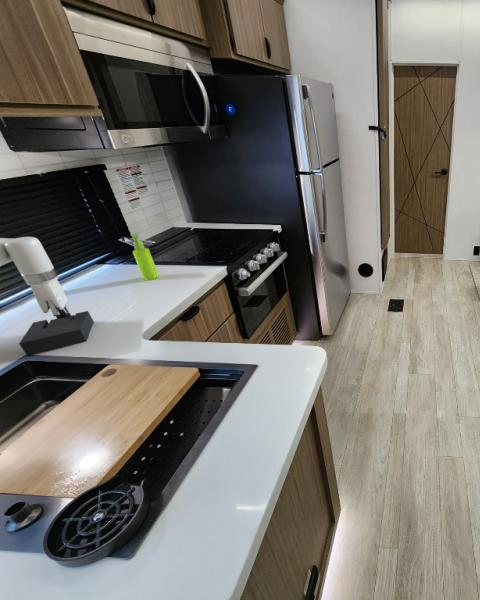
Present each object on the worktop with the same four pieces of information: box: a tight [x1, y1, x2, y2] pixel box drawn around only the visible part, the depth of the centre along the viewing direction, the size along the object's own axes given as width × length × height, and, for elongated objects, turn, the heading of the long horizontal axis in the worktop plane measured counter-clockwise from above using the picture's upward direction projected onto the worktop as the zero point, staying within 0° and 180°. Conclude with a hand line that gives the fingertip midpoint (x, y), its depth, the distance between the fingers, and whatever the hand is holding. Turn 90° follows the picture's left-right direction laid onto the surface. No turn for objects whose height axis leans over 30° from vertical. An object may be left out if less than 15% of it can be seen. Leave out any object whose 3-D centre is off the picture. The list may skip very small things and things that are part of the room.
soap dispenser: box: [130, 233, 160, 281], centre depth 146 cm, size 6×7×20 cm
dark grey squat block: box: [46, 314, 75, 328], centre depth 110 cm, size 6×6×4 cm
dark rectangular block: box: [18, 310, 94, 356], centre depth 107 cm, size 14×14×4 cm
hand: (68, 324), depth 114 cm, fingers closed
